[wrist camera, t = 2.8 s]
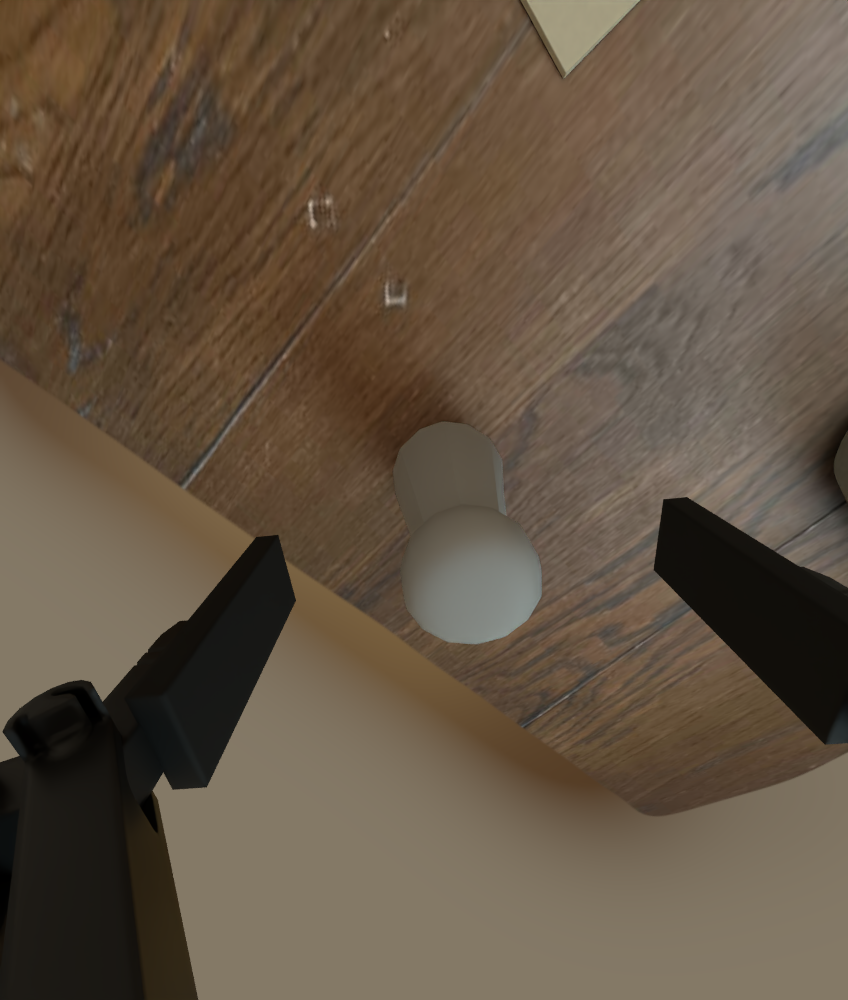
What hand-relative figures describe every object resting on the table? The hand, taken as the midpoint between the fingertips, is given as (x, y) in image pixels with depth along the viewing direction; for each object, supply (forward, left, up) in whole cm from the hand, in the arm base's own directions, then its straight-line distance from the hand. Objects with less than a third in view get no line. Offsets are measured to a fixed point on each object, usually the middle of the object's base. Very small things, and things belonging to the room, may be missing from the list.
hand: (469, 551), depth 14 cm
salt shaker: (0, 0, -10) cm, 10 cm away
